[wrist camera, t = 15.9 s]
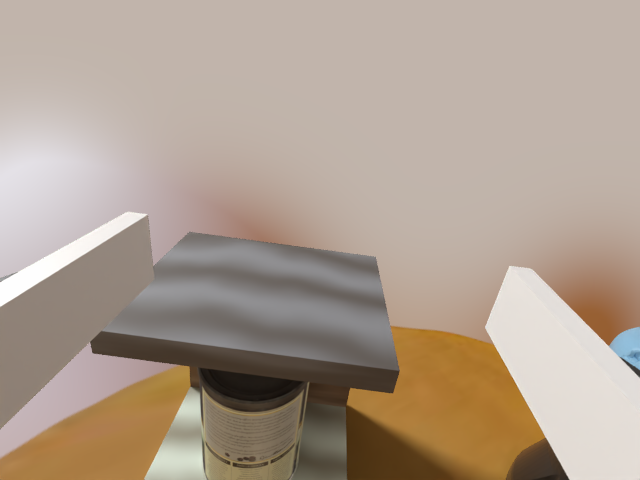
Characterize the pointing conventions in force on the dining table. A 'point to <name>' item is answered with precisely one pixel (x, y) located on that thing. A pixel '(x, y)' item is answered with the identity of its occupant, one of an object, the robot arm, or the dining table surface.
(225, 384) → the coffee can
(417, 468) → the dining table surface
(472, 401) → the dining table surface
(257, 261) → the brown piece
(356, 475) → the dining table surface
